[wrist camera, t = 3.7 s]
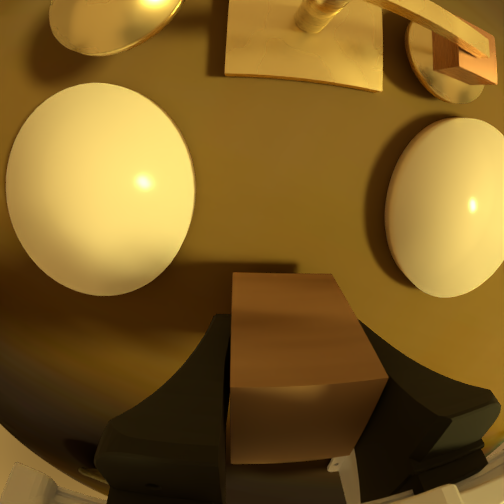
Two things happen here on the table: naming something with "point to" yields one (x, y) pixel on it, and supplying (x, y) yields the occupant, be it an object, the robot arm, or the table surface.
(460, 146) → the dish low side
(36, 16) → the table surface
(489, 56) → the balance
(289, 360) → the block
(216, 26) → the table surface
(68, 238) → the cream round disc
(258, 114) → the table surface
